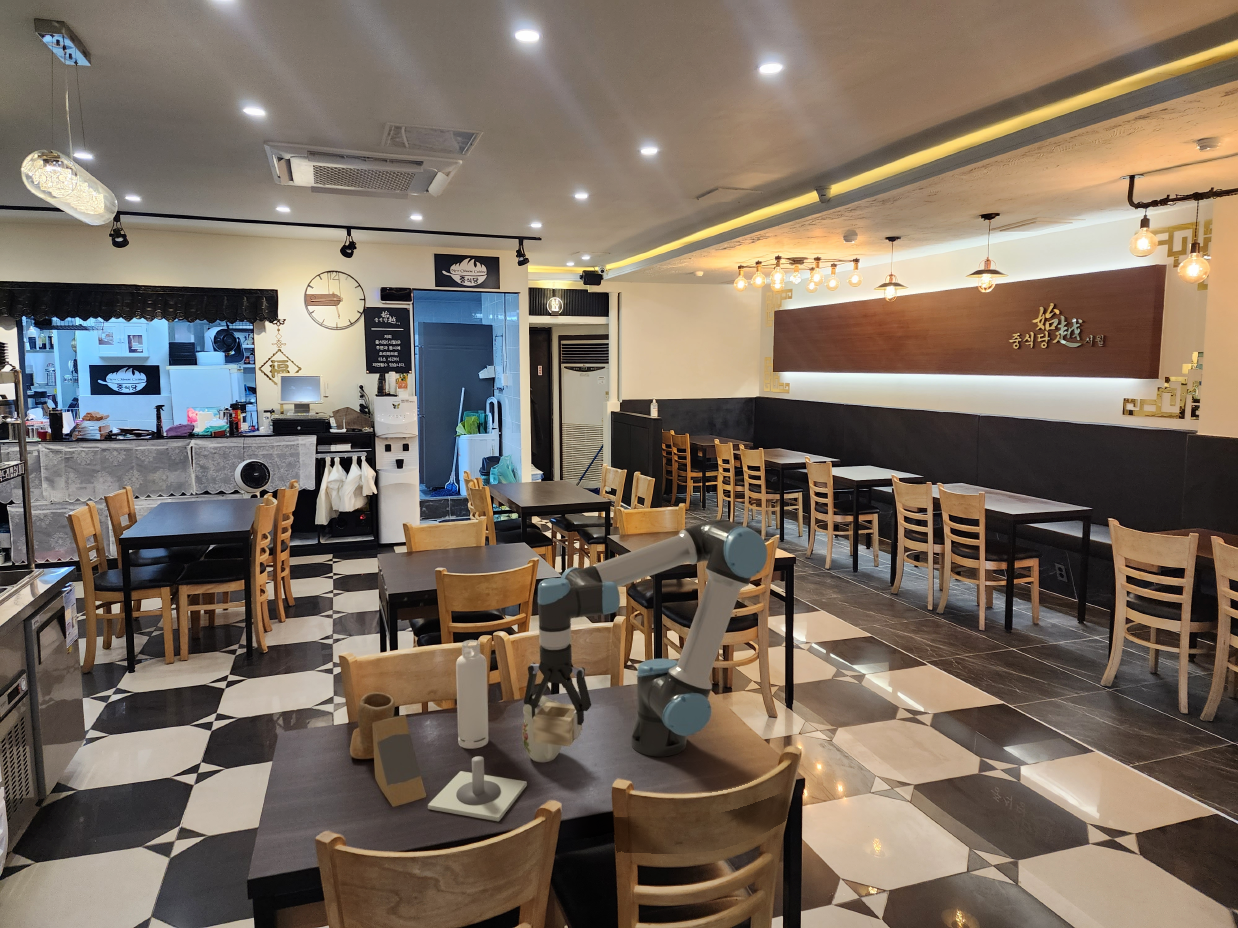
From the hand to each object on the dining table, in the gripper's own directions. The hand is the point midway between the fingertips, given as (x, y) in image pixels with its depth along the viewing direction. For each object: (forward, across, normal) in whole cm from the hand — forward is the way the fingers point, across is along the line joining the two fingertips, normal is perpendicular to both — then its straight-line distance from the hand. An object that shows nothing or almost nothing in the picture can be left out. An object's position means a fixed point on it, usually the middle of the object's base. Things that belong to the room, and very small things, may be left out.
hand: (558, 734), depth 189 cm
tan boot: (+14, +56, -6) cm, 57 cm away
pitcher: (+14, +10, -14) cm, 22 cm away
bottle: (+14, +32, -17) cm, 38 cm away
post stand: (+14, +18, +8) cm, 24 cm away
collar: (0, 0, 0) cm, 0 cm away
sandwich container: (+14, +38, +10) cm, 42 cm away
